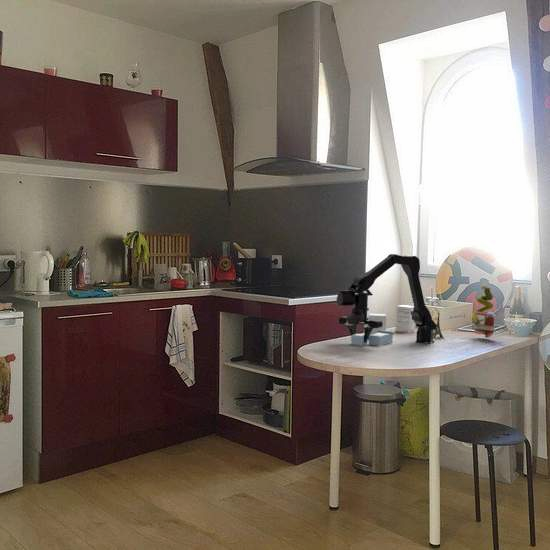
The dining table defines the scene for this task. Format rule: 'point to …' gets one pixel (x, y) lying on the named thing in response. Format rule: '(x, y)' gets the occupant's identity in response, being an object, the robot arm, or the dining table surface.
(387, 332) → the blue notched block
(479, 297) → the prank snake can
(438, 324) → the eiffel tower figurine
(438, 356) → the dining table surface
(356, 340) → the light blue block
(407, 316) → the white tall block
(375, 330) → the small box
